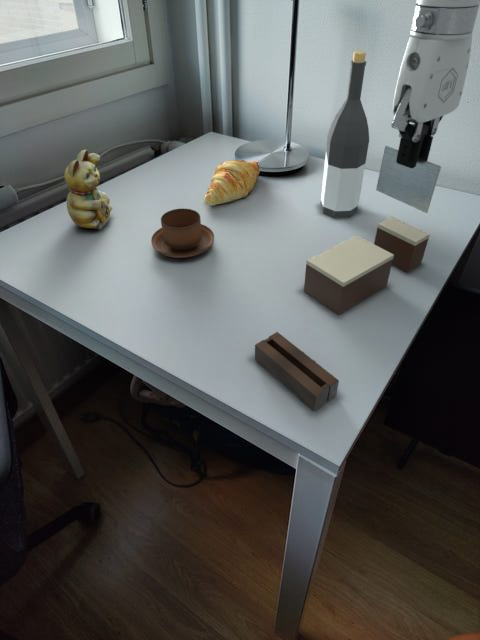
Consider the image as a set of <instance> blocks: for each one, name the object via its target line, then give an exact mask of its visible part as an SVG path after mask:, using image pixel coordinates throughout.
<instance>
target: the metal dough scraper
mask: <svg viewBox="0 0 480 640" xmlns="http://www.w3.org/2000/svg"><path fill="white" fill-rule="evenodd" d="M411 124H412V125H413V127H415V123H411ZM428 129H429V126H428V125H425V124H423V126H422V131H421V135H420V139H419V141H422V142H421V146H420V151H419V155H418V157H420V156H422V152H423V148H424V144H425V141H426V137H427V133H428ZM397 154H398V149H396V148H393V147H390V146H388V145H384V150H383V154H382V159H381V163H380V169H379V174H378V179H377V183H376V188H375V191H377V192H379V193H382V194H383V195H386V196H387V197H390V198H392V199H395V200H396V201H399V202H401V203H403V204H406V205H408V206H410V207H413V208H415V209H416V210H418V211H421V212H423V213H426V214H428V212H429V209H430V206H431V202H432V198H433V195H434V192H435V189H436V186H437V182H438V178H439V175H440V172H441V168H442V166H441V165H438V164H436V163H434V162H431V161H428V160H427V161H425V160H423V159H420V158H418V159H417V164H416V167H414V168H409V167H406V166H403V165H401V164H398V163H397V162H396V159H397Z"/></svg>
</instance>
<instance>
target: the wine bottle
mask: <svg viewBox="0 0 480 640" xmlns="http://www.w3.org/2000/svg"><path fill="white" fill-rule="evenodd" d="M366 56H367V52H366V51H364V50H355V51H353V55H352V60H350V71H349V79H348V87H347V94H346V96H347V97H346V99H345V100H344V102H343V103H342V105H341V107H340V108H339V110H338V112H337V113H336V115H335V116H334V118H333V120H332V122H331V124H330V128H329V131H328V133H327V138H326V149H325V155H324V156H325V157H324V168H323V175H322V184H321V185H322V186H321V195H320V208H321V212H322V214H324V215H327V216H330V217H332V218H334V219H336V218H337V219H339V218H350V217H352V216H353V215H355V214H357V212H358V209H359V204H360V198H361V192H362V188H363V187H362V186H363V181H364V173H365V168H366V162H367V156H368V152H369V151H368V150H369V144H370V131H369V130H370V129H369V124H368V118H367V116H366V112H365V110H364V106H363V104H362V100H361V97H362V91H363V84H364V77H365V69H366V66H367V61H366Z"/></svg>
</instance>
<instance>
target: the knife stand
mask: <svg viewBox="0 0 480 640" xmlns="http://www.w3.org/2000/svg"><path fill="white" fill-rule="evenodd" d="M254 360H255V361H256V362H258V364H260V366H262V367H263V368H264V369H265V370H266V371H267V372H269V373H270V374H271V375H272V376H273V377H274V378H276V379H277V380H278V381H279V382H280V383H281V384H282V385H284V387H286V388H287V389H288V390H289V391H290V392H291V393H293V394H294V395H295V396H296V397H297V398H298V399H299V400H300V401H301V402H303V403H304V404H305V405H306V406H307V407H308V408H309V409H311V411H313V412H315V411H316V410H318V409H319V408H321V407H322V406H323V405H324V404H325V403H326V402H329V401H331V400H332V399H333V398H335V397H336V396H337V393H338V388H339V382H340V380H339V379H338V378H336V377H335V376H334V375H333V374H332V373H330V372H329V371H328V370H326V369H325V368H324V367H323V366H321V364H319V363H318V362H316V361H315V360H314V359H312V358H311V357H310V356H309V355H307V354H306V353H305V352H304V351H303V350H301V349H300V348H298V347H297V346H296V345H295V344H294V343H292V342H291V341H289V339H287V338H286V337H284V336H283V335H282V334H281V333H279V332H278V331H275V332H274V333H272V334H271V335H269V336H268V337H267V338H265V339H262V340H260V341H258V342H257V343H255V344H254Z"/></svg>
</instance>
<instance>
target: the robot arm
mask: <svg viewBox="0 0 480 640" xmlns="http://www.w3.org/2000/svg"><path fill="white" fill-rule="evenodd" d="M479 9H480V0H415V5H414V9H413V15H412V20H411V21H412V22H411V27H410V32H409V38H408V41H407V43H406V47H405V51H404V53H403V57H402V61H401V65H400V69H399V72H398V77H397V80H396V85H395V90H394V96H393V101H392V114H393V115H394V117H393V119H392V122H391V124H390V125H391V126H390V127H391V129H394V130H397V131H398V138H400V140H399V145H398V149H397V150H398V154H397V159H396V162H397V163H398V164H401V165H403V166H406V167H409V168H414V167H416V164H417V159H418V158H420V159H423V160H425V161H428V160H429V156H430V152H431V149H432V148H431V147H432V143H433V140H434V136H435V135H436V134H437V131H438V127H439V124H440V122H441V121H442V119H443V118H444V117H445V116H446V115H449V114H450V113H453V112H454V111H456V110H457V109H458V107H459V106H460V103H461V100H462V99H461V98H462V94H463V92H464V91H463V90H464V86H465V83H466V78H467V73H468V68H469V63H470V58H471V51H472V43H473V32H474V29H475V24H476V20H477V16H478V13H479ZM412 124H415V127H413V125H412ZM423 124H425V125H428V126H429V129H428V133H427V137H426V141H425V144H424V148H423V152H422V156H420V157H418V155H419V151H420V146H421V142H422V141H419V139H420V135H421V131H422V126H423Z"/></svg>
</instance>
